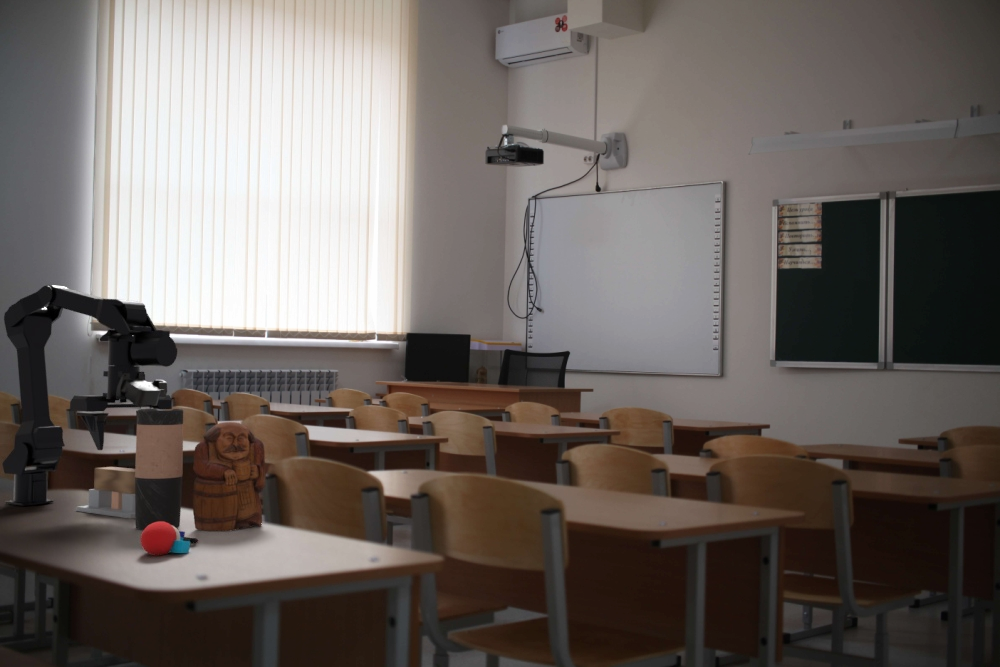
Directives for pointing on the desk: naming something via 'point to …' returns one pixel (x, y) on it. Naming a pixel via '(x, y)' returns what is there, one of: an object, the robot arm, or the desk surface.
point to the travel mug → (158, 467)
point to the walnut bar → (115, 479)
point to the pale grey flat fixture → (110, 503)
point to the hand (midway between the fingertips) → (121, 448)
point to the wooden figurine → (228, 479)
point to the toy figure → (165, 539)
